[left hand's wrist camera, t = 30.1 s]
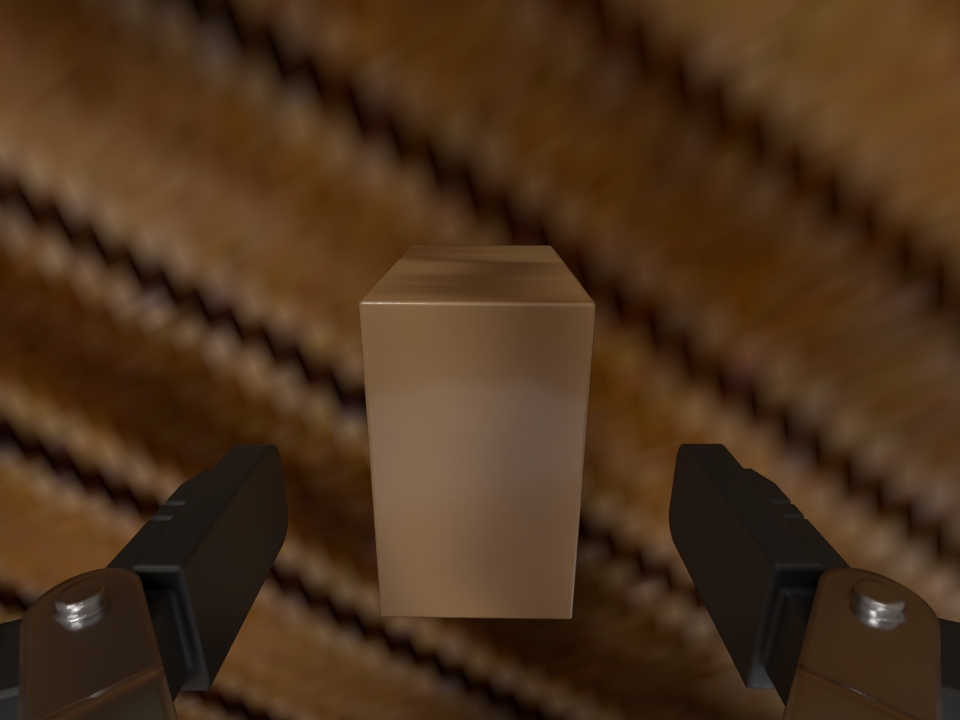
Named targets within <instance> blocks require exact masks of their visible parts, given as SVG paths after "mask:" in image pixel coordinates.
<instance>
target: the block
mask: <svg viewBox="0 0 960 720" xmlns="http://www.w3.org/2000/svg"><path fill="white" fill-rule="evenodd" d="M595 311H596V305H595V303H594V302H593V300H592V299H591V298H590V296H589V295H588V294H587V292H586V291H585V290H584V288H583V287H582V286H581V284H580V283H579V282H578V280H577V279H576V278H575V277H574V275H573V274H572V273H571V271H570V270H569V269H568V267H567V266H566V265H565V263H564V262H563V261H562V259H561V258H560V257H559V256H558V254H557V253H556V252H555V250H554V249H553V248H552V247H551V246H503V245H412V246H411V247H410V248H409V249H408V250H407V251H406V252H405V253H404V254H403V256H402V257H401V258H400V259H399V260H398V261H397V262H396V263H395V264H394V265H393V266H392V267H391V269H390V270H389V271H388V272H387V273H386V274H385V275H384V276H383V277H382V278H381V279H380V280H379V282H378V283H377V284H376V285H375V286H374V287H373V288H372V289H371V290H370V291H369V292H368V293H367V295H366V296H365V297H364V298H363V299H362V300H361V301H360V303H359V312H360V326H361V340H362V354H363V368H364V382H365V396H366V410H367V425H368V439H369V453H370V467H371V481H372V495H373V509H374V523H375V537H376V551H377V566H378V580H379V594H380V608H381V615H382V616H383V617H436V618H508V619H571V617H572V612H573V599H574V586H575V573H576V560H577V547H578V534H579V520H580V507H581V494H582V481H583V468H584V455H585V442H586V429H587V416H588V403H589V390H590V377H591V364H592V350H593V337H594V324H595Z"/></svg>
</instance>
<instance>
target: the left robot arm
mask: <svg viewBox="0 0 960 720" xmlns="http://www.w3.org/2000/svg"><path fill="white" fill-rule="evenodd" d="M165 503H166V504H165V506H161V508H160V509H159V510H158V511H157V512H156V513H155V514H154V515H153V516H152V521H148V522H147V523H146V524H145V525H144V526H143V527H142V528H141V530H140V531H139V532H138V533H137V534H136V535H135V536H134V537H133V538H132V539H131V541H130V542H129V543H128V544H127V545H126V546H125V547H124V548H123V549H122V550H121V552H120V553H119V554H118V555H117V556H116V557H115V558H114V559H113V560H112V561H111V563H110V564H109V565H108V566H107V567H106V568H104V569H98V570H94V571H89V572H86V573H83V574H80V575H77V576H75V577H72V578H70V579H68V580H66V581H64V582H62V583H60V584H58V585H57V586H55V587H53V588H51V589H50V590H49V591H47V592H46V593H44V594H43V595H42V596H41V597H39V598H38V599H37V600H36V601H35V602H34V603H33V604H32V605H31V606H30V607H29V608H28V610H27V611H26V612H25V614H24V616H23V618H22V619H19V620H15V621H11V622H6V623H2V624H0V720H178V718H177V714H176V710H175V707H174V703H173V702H174V700H175V699H176V697H177V695H178V693H179V691H209V689H210V687H211V685H212V683H213V681H214V679H215V677H216V675H217V673H218V671H219V669H220V667H221V665H222V664H223V662H224V660H225V658H226V656H227V654H228V652H229V650H230V648H231V646H232V644H233V642H234V640H235V638H236V636H237V634H238V632H239V630H240V628H241V626H242V624H243V622H244V620H245V618H246V616H247V614H248V612H249V610H250V608H251V606H252V604H253V602H254V600H255V598H256V597H257V595H258V593H259V591H260V589H261V587H262V585H263V583H264V581H265V579H266V577H267V575H268V573H269V571H270V569H271V567H272V565H273V563H274V561H275V559H276V557H277V555H278V553H279V551H280V549H281V547H282V545H283V543H284V540H285V537H286V533H287V527H288V509H287V502H286V495H285V488H284V481H283V474H282V467H281V459H280V454H279V451H278V448H277V447H276V446H275V445H235V446H233V447H232V448H231V449H230V450H229V451H228V453H227V454H226V455H225V456H224V457H223V459H222V460H221V461H220V462H219V463H218V464H217V466H216V467H215V468H214V469H213V470H204V471H203V472H201V473H200V474H198V475H196V476H195V477H193V478H191V479H190V480H188V481H186V482H185V483H183V484H182V485H181V486H180V487H179V488H178V489H177V490H176V491H175V492H174V493H173V494H172V495H171V497H170V498H169V499H168V500H167V501H166V502H165ZM669 525H670V531H671V536H672V539H673V542H674V544H675V546H676V548H677V550H678V552H679V554H680V556H681V558H682V560H683V562H684V564H685V566H686V568H687V570H688V572H689V574H690V576H691V578H692V580H693V582H694V584H695V586H696V588H697V590H698V592H699V594H700V596H701V598H702V600H703V602H704V604H705V606H706V608H707V610H708V612H709V614H710V616H711V618H712V620H713V622H714V624H715V626H716V628H717V630H718V632H719V634H720V636H721V638H722V640H723V642H724V644H725V646H726V648H727V650H728V652H729V654H730V656H731V658H732V660H733V662H734V664H735V666H736V668H737V670H738V672H739V674H740V676H741V678H742V680H743V682H744V684H745V686H746V688H775V689H776V690H777V692H778V694H779V696H780V698H781V699H782V701H783V703H784V705H785V710H784V714H783V718H782V720H960V623H958V622H954V621H949V620H945V619H940V618H937V616H936V614H935V612H934V611H933V610H932V608H931V607H930V606H929V605H928V604H927V603H926V602H925V601H924V600H923V599H922V598H921V597H919V596H918V595H917V594H916V593H914V592H913V591H911V590H910V589H909V588H907V587H905V586H903V585H902V584H900V583H898V582H896V581H894V580H892V579H890V578H888V577H885V576H883V575H880V574H877V573H874V572H871V571H866V570H862V569H856V568H851V567H850V566H849V565H848V564H847V563H846V562H845V561H844V560H843V559H842V557H841V556H840V555H839V554H838V553H837V552H836V551H835V550H834V549H833V547H832V546H831V545H830V544H829V543H828V542H827V541H826V540H825V539H824V537H823V536H822V535H821V534H820V533H819V532H818V531H817V530H816V529H815V527H814V526H813V525H812V524H811V523H810V522H809V521H808V520H807V519H804V515H803V514H802V513H801V512H800V511H799V510H798V509H797V507H796V506H795V505H794V504H791V501H790V500H789V499H788V497H787V496H786V495H785V494H784V493H783V492H782V491H781V490H780V489H779V487H778V486H777V485H776V484H775V483H773V482H772V481H770V480H768V479H767V478H765V477H764V476H762V475H760V474H759V473H757V472H755V471H754V470H752V469H743V468H742V466H741V465H740V464H739V463H738V462H737V460H736V459H735V458H734V457H733V456H732V455H731V453H730V452H729V451H728V450H727V449H726V447H725V446H724V445H722V444H682V445H681V446H680V447H679V450H678V453H677V458H676V465H675V473H674V480H673V487H672V494H671V501H670V508H669Z"/></svg>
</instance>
